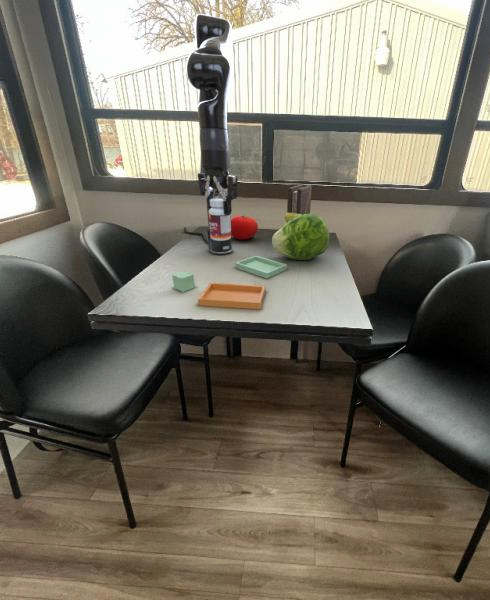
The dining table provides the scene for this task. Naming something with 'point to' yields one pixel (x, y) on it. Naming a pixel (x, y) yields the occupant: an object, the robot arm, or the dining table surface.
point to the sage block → (183, 281)
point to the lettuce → (302, 237)
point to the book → (298, 201)
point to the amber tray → (232, 296)
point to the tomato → (243, 227)
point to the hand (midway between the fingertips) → (219, 212)
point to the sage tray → (261, 266)
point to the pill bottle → (219, 221)
